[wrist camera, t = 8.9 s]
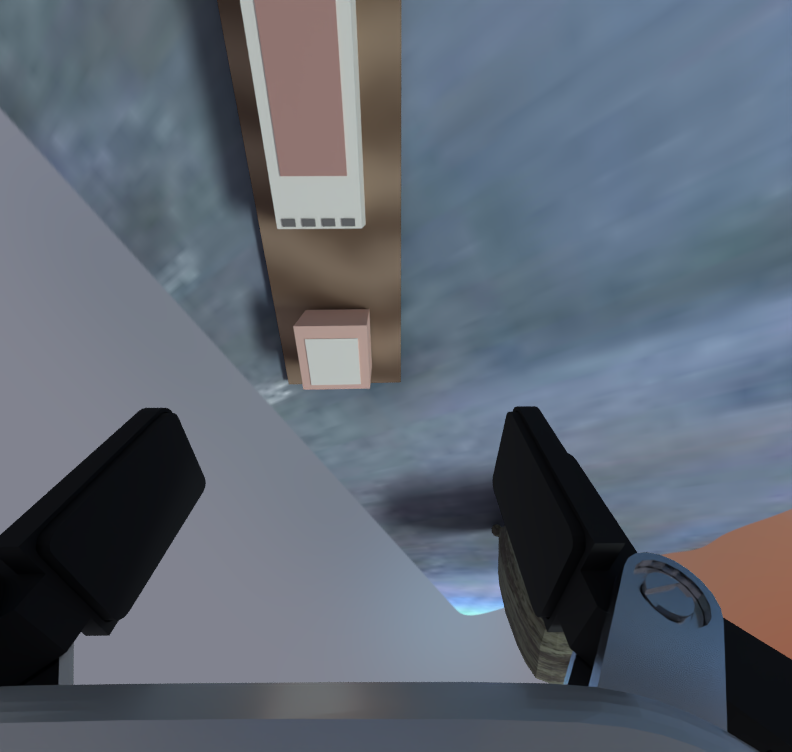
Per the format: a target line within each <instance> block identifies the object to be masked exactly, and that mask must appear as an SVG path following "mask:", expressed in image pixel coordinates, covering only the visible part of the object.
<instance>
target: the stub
mask: <svg viewBox="0 0 792 752" xmlns="http://www.w3.org/2000/svg"><path fill="white" fill-rule="evenodd" d="M293 328H294V334H295V340H296V346H297V352H298V358H299V364H300V371H301V377H302V383H303V389H304V390H308V389H363V388H370V381H371V370H372V358H371V336H370V314H369V309H345V310H305V312H304V313H303V314H302V316H301V317H300V318H299V320H298V321H297V322H296V323H295V325H294V326H293Z"/></svg>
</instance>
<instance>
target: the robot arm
mask: <svg viewBox="0 0 792 752" xmlns="http://www.w3.org/2000/svg"><path fill="white" fill-rule="evenodd" d="M205 484H206V483H205V477H204V475H203V473H202V471H201V468H200V466H199V464H198V461H197V459H196V457H195V454H194V452H193V450H192V448H191V445H190V443H189V441H188V438H187V436H186V434H185V432H184V429H183V427H182V425H181V422H180V420H179V418H178V416H177V415H176V414H175V413H172V411H171V410H169V409H168V408H144V409H141V410H140V411H138V412H137V413H136V414H135V415H134V416H133V417H132V418H131V419H130V420H128V421H127V422H126V423H125V424H124V425H123V426H122V427H121V428H120V429H118V430H117V431H116V432H115V433H114V434H113V435H112V436H110V437H109V438H108V439H107V440H106V441H105V442H104V443H103V444H102V445H100V447H98V448H97V449H96V450H95V451H94V452H93V453H91V454H90V455H89V456H88V457H87V458H86V459H85V460H84V461H82V462H81V463H80V464H79V465H78V466H77V467H76V468H75V469H74V470H72V471H71V472H70V473H69V474H68V475H67V476H66V477H65V478H63V479H62V480H61V481H60V482H59V483H58V484H57V485H56V486H55V487H53V488H52V489H51V490H50V491H49V492H48V493H47V494H46V495H44V496H43V497H42V498H41V499H40V500H39V501H38V502H37V503H35V504H34V505H33V506H32V507H31V508H30V509H29V510H28V511H27V512H25V513H24V514H23V515H22V516H21V517H20V518H19V519H18V520H16V521H15V522H14V523H13V524H12V525H11V526H10V527H9V528H7V530H5V531H4V532H3V533H2V534H1V535H0V752H792V660H791V659H790V658H788V657H786V656H785V655H783V654H781V653H780V652H778V651H777V650H775V649H773V648H772V647H770V646H768V645H767V644H765V643H764V642H762V641H760V640H759V639H757V638H755V637H754V636H752V635H751V634H749V633H747V632H746V631H744V630H742V629H741V628H739V627H738V626H736V625H734V624H733V623H731V622H729V621H728V620H726V619H725V618H723V616H722V612H721V608H720V606H719V604H718V603H717V601H716V599H715V597H714V596H713V594H712V593H711V591H710V590H709V589H708V588H707V587H706V586H705V584H704V583H703V582H702V581H701V580H700V579H699V578H697V577H696V576H695V575H694V574H693V573H692V572H690V571H689V570H688V569H686V568H685V567H683V566H682V565H680V564H679V563H677V562H675V561H674V560H671V559H669V558H667V557H664V556H662V555H659V554H654V553H649V552H643V553H637V552H636V550H635V549H634V547H633V545H632V544H631V542H630V541H629V539H628V538H627V536H626V535H625V533H624V532H623V530H622V529H621V527H620V526H619V524H618V523H617V521H616V520H615V518H614V517H613V515H612V514H611V512H610V511H609V509H608V508H607V506H606V505H605V503H604V501H603V500H602V498H601V497H600V495H599V494H598V492H597V491H596V489H595V488H594V486H593V485H592V483H591V482H590V480H589V479H588V477H587V476H586V474H585V473H584V471H583V470H582V468H581V467H580V465H579V464H578V462H577V460H576V459H575V458H574V457H573V456H572V455H570V454H568V453H567V452H566V450H565V448H564V447H563V445H562V444H561V442H560V441H559V439H558V438H557V436H556V434H555V433H554V431H553V430H552V428H551V427H550V425H549V424H548V422H547V420H546V419H545V417H544V416H543V414H542V413H541V411H540V410H539V408H538V407H535V406H533V407H515V408H514V409H513V412H508V413H507V415H506V420H505V424H504V429H503V433H502V438H501V442H500V447H499V451H498V456H497V460H496V465H495V470H494V474H493V489H494V492H495V495H496V498H497V502H498V505H499V508H500V511H501V514H502V517H503V520H504V523H505V526H506V529H507V532H508V535H509V538H510V541H511V545H512V548H513V551H514V554H515V557H516V560H517V563H518V566H519V569H520V572H521V575H522V578H523V581H524V584H525V587H526V591H527V594H528V597H529V600H530V603H531V606H532V609H533V611H534V613H535V615H536V616H537V617H542V618H543V621H544V624H545V627H546V630H547V632H564V634H565V637H566V640H567V642H568V645H569V648H570V649H571V650H572V651H573V652H572V655H571V659H570V662H569V666H568V669H567V673H566V676H565V679H564V683H563V684H545V683H543V684H542V683H541V684H540V683H489V682H323V683H321V682H319V683H194V684H193V683H192V684H191V683H189V684H109V685H108V684H105V685H73V648H74V645H73V642H74V641H75V639H76V638H77V637H78V635H79V634H80V632H82V633H83V634H84V635H86V636H92V635H93V636H96V635H97V636H98V635H100V636H101V635H110V633H111V632H112V630H113V629H114V627H115V625H116V624H117V622H118V621H119V620H120V619H122V618H124V617H125V616H126V615H127V614H128V612H129V611H130V609H131V608H132V606H133V604H134V602H135V601H136V599H137V598H138V596H139V594H140V593H141V592H142V590H143V588H144V587H145V585H146V583H147V582H148V580H149V579H150V577H151V575H152V574H153V572H154V570H155V569H156V567H157V566H158V564H159V562H160V561H161V559H162V558H163V556H164V554H165V553H166V551H167V549H168V548H169V546H170V545H171V543H172V541H173V540H174V538H175V537H176V535H177V533H178V532H179V530H180V528H181V527H182V525H183V524H184V522H185V520H186V519H187V517H188V515H189V514H190V512H191V511H192V509H193V507H194V506H195V504H196V503H197V501H198V499H199V498H200V496H201V494H202V493H203V491H204V488H205Z"/></svg>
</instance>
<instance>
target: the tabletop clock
mask: <svg viewBox="0 0 792 752" xmlns="http://www.w3.org/2000/svg"><path fill="white" fill-rule="evenodd" d="M491 529H492V533H493V534H494V535H495V536H498V537H499V558H498V575H499V585H500V590H501V594H502V599H503V603H504V608H505V612H506V615H507V618H508V621H509V623H510V626H511V629H512V632H513V635H514V638H515V640H516V643H517V646H518V648H519V650H520V652H521V654H522V656H523V658H524V660H525V662H526V664H527V665H528V667H529V668H530V670H531V671H532V673H533V674H534V676H535V677H536V678H537V679H540V680H543V681H545V682H548V683H551V684H563V683H564V679H565V676H566V673H567V669H568V666H569V662H570V659H571V655H572V652H573V651H572V650H571V649H570V648H569V645H568V642H567V640H566V637H565V634H564V632H547V630H546V627H545V624H544V621H543V618H542V617H537V616H536V615H535V613H534V611H533V609H532V606H531V603H530V600H529V597H528V594H527V591H526V587H525V584H524V581H523V578H522V575H521V572H520V569H519V566H518V563H517V560H516V557H515V554H514V551H513V548H512V545H511V541H510V538H509V535H508V532H507V529H506V526H503V527H501V526H500V525H497V524H495V525H493V527H492V528H491Z"/></svg>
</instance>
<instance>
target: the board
mask: <svg viewBox="0 0 792 752" xmlns="http://www.w3.org/2000/svg"><path fill="white" fill-rule="evenodd" d="M217 2H218V8H219V13H220V18H221V24H222V29H223V34H224V40H225V45H226V50H227V56H228V61H229V66H230V72H231V77H232V82H233V88H234V93H235V98H236V104H237V109H238V114H239V120H240V125H241V130H242V136H243V141H244V147H245V152H246V157H247V163H248V168H249V173H250V179H251V184H252V189H253V195H254V200H255V205H256V211H257V216H258V221H259V227H260V232H261V237H262V243H263V248H264V253H265V259H266V264H267V269H268V275H269V280H270V285H271V291H272V296H273V302H274V307H275V312H276V318H277V323H278V328H279V334H280V339H281V344H282V350H283V355H284V360H285V366H286V371H287V376H288V382H289V384H303V383H302V377H301V371H300V364H299V358H298V352H297V346H296V340H295V334H294V328H293V326H294V325H295V323H296V322H297V321H298V320H299V318H300V317H301V316H302V314H303V313H304V312H305V310H345V309H369V314H370V336H371V358H372V370H371V381H370V383H388V382H401V0H356V21H357V43H358V65H359V87H360V109H361V131H362V153H363V176H364V198H365V220H366V225H365V226H364V227H363V228H357V229H277V224H276V218H275V212H274V206H273V200H272V194H271V188H270V181H269V175H268V169H267V163H266V157H265V151H264V145H263V139H262V133H261V126H260V120H259V114H258V108H257V102H256V96H255V90H254V84H253V78H252V72H251V65H250V59H249V53H248V47H247V41H246V35H245V29H244V23H243V17H242V11H241V4H240V0H217Z"/></svg>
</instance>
